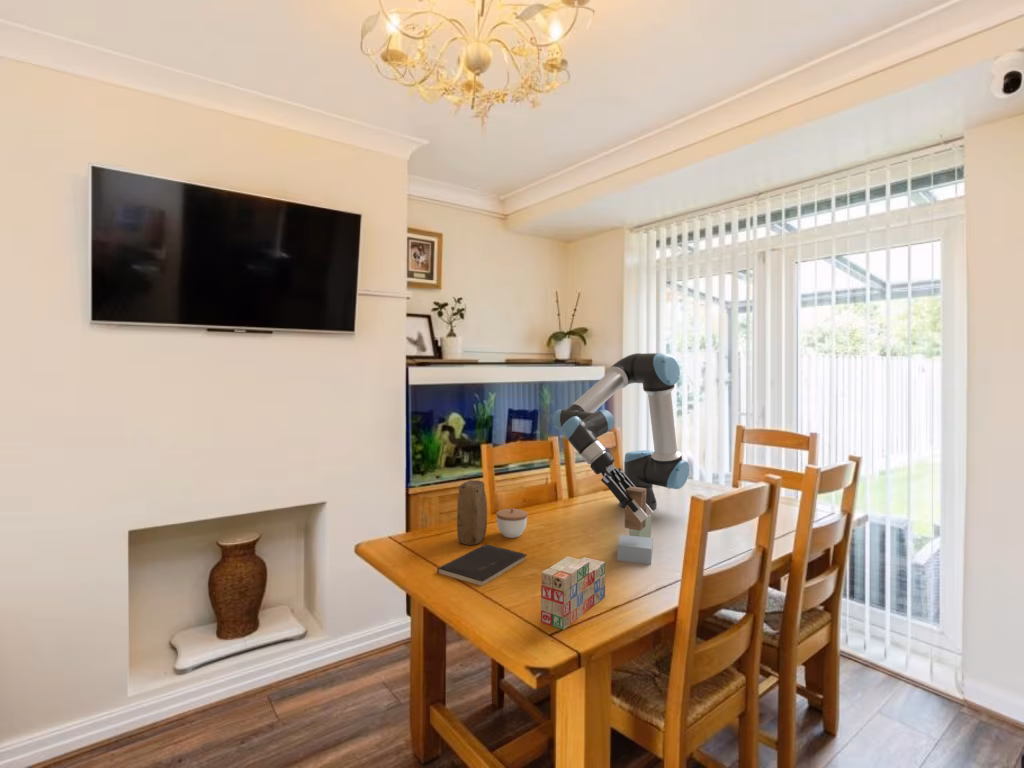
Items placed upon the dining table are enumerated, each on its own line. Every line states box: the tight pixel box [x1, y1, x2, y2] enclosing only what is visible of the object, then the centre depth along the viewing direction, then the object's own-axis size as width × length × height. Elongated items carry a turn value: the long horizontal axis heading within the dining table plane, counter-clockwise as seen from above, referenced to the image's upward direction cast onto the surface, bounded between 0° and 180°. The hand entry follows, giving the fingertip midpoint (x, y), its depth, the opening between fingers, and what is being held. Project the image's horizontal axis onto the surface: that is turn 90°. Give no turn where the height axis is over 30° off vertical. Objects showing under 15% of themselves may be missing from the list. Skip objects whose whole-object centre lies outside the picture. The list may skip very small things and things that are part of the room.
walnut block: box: [624, 486, 646, 531], centre depth 166 cm, size 5×5×12 cm
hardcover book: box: [436, 543, 528, 587], centre depth 158 cm, size 16×23×2 cm
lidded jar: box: [495, 507, 528, 539], centre depth 185 cm, size 11×11×9 cm
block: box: [456, 479, 488, 546], centre depth 179 cm, size 11×8×20 cm
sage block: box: [628, 515, 652, 538], centre depth 180 cm, size 5×5×9 cm
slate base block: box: [616, 534, 654, 565], centre depth 166 cm, size 10×10×5 cm
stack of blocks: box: [540, 555, 606, 631], centre depth 131 cm, size 21×6×12 cm, turn 144°
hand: (647, 517), depth 164 cm, fingers closed on walnut block, 5 cm apart
